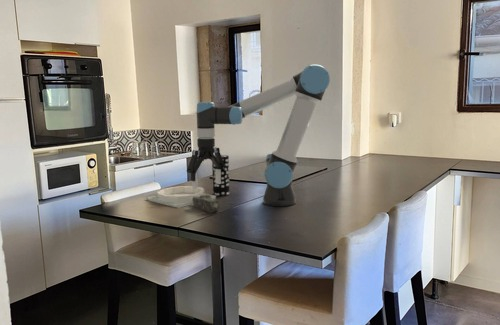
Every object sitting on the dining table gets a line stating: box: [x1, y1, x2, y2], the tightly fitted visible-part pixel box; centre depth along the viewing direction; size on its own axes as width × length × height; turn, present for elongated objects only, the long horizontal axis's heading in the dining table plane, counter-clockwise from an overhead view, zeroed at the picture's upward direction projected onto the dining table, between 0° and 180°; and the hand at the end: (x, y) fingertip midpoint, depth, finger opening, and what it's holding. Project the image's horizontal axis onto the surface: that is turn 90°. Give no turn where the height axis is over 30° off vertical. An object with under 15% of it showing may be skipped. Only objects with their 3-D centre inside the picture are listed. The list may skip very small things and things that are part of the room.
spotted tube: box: [211, 154, 231, 197], centre depth 229 cm, size 8×8×20 cm
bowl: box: [156, 185, 206, 205], centre depth 222 cm, size 22×22×4 cm
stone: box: [192, 195, 220, 214], centre depth 203 cm, size 14×7×10 cm, turn 55°
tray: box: [146, 193, 217, 209], centre depth 222 cm, size 24×23×2 cm
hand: (206, 186), depth 202 cm, fingers open, 13 cm apart
